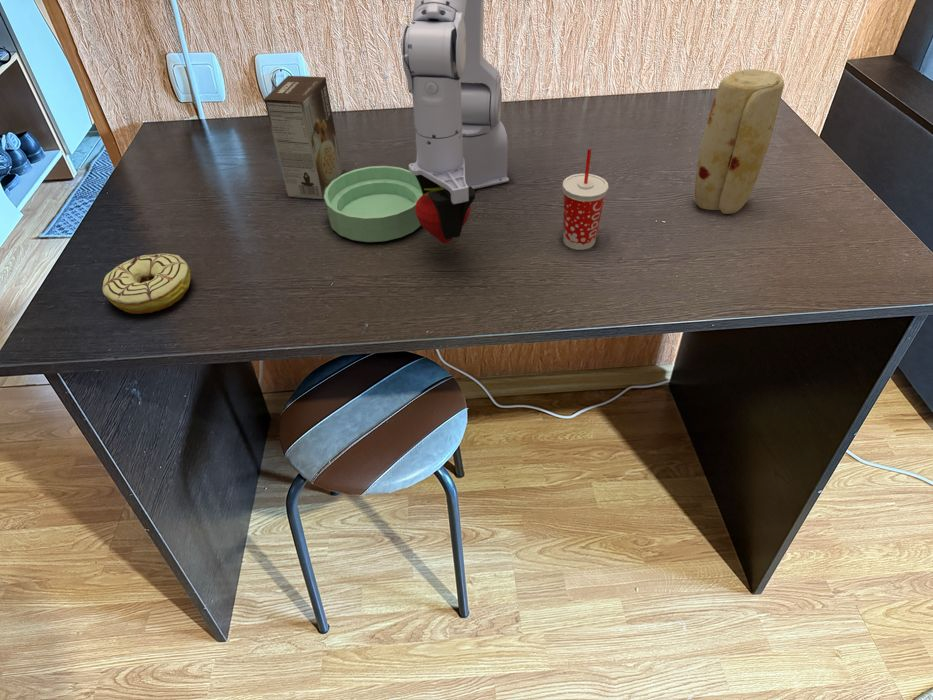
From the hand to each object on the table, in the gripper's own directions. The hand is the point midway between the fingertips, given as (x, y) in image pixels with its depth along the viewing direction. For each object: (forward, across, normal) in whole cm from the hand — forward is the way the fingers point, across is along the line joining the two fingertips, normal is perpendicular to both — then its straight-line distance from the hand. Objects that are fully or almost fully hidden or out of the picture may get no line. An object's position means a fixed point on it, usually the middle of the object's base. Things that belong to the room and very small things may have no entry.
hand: (443, 223), depth 88 cm
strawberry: (+3, 0, 0) cm, 3 cm away
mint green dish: (+5, -13, -6) cm, 16 cm away
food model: (+5, +4, +43) cm, 44 cm away
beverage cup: (+5, +4, +19) cm, 20 cm away
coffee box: (+5, -27, -13) cm, 30 cm away
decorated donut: (+5, -7, -39) cm, 40 cm away
